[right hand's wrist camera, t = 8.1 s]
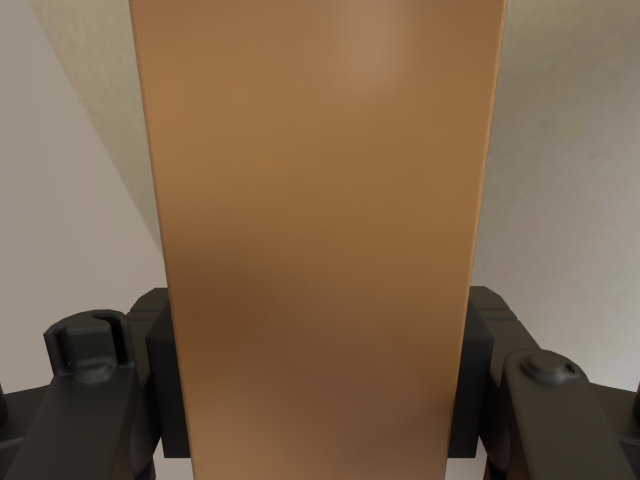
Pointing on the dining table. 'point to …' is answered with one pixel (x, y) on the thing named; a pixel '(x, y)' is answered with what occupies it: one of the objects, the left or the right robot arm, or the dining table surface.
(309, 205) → the beam
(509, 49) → the dining table surface
